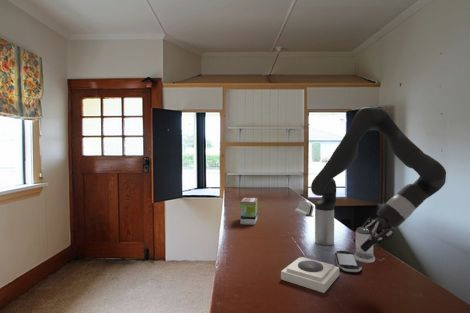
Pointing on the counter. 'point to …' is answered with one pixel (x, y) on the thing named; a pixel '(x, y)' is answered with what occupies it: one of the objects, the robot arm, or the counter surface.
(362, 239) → the knob
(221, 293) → the counter surface
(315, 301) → the counter surface
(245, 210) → the tea box
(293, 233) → the counter surface
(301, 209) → the hinge
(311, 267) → the stand
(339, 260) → the gaming console
